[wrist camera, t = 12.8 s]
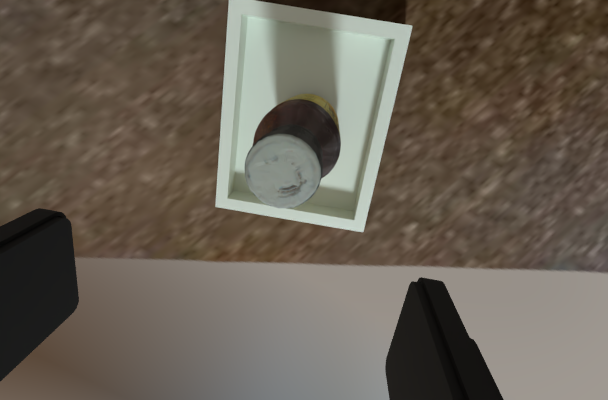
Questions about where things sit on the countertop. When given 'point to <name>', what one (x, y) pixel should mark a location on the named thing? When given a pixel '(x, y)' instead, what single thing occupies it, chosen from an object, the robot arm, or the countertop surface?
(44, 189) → the countertop surface
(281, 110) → the sauce bottle
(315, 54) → the tray
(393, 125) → the countertop surface
